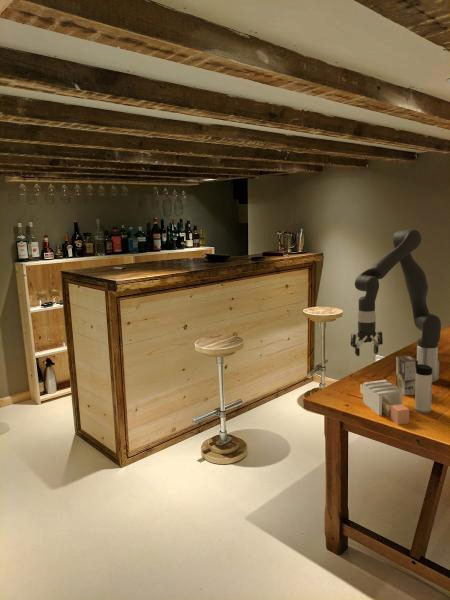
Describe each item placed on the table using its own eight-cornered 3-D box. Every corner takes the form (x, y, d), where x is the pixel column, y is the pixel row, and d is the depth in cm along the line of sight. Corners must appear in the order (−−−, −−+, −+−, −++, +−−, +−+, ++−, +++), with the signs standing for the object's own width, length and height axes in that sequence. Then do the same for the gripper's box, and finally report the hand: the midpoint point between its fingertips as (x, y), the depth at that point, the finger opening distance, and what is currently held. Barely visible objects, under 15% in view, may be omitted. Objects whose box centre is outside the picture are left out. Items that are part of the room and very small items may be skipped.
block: (402, 417, 184) (402, 404, 183) (409, 423, 179) (409, 409, 178) (390, 419, 183) (390, 405, 182) (397, 424, 178) (397, 410, 177)
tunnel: (384, 399, 202) (384, 379, 200) (402, 412, 189) (402, 391, 187) (363, 402, 201) (363, 382, 199) (379, 415, 187) (379, 394, 185)
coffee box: (417, 394, 205) (418, 360, 202) (404, 395, 205) (404, 361, 202) (408, 387, 214) (409, 354, 211) (395, 388, 214) (395, 355, 211)
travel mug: (411, 408, 192) (412, 363, 188) (426, 406, 193) (427, 362, 189) (418, 414, 186) (419, 368, 182) (434, 412, 186) (435, 367, 183)
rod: (367, 392, 212) (367, 383, 211) (395, 416, 186) (396, 405, 186) (360, 393, 211) (360, 384, 210) (388, 417, 186) (388, 407, 185)
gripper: (377, 316, 205) (377, 350, 209) (348, 319, 203) (348, 353, 206) (385, 320, 198) (385, 355, 201) (355, 323, 196) (355, 358, 199)
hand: (366, 354), depth 204 cm, fingers open, 8 cm apart
